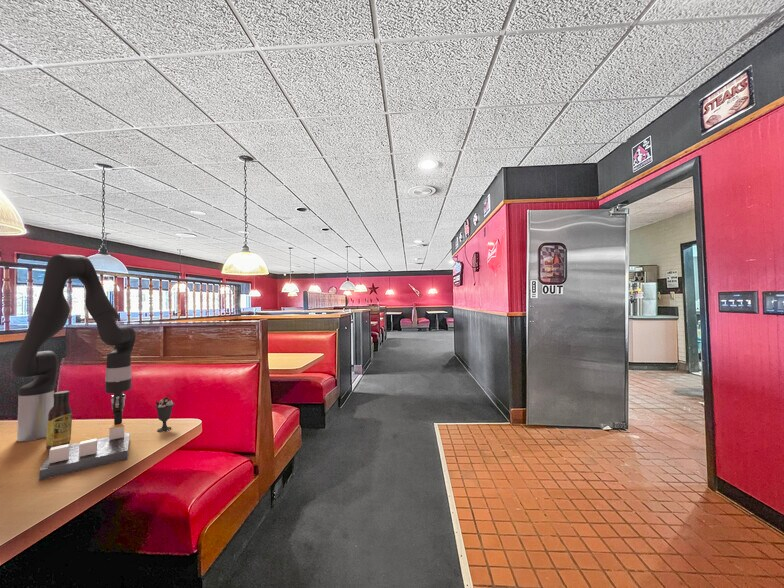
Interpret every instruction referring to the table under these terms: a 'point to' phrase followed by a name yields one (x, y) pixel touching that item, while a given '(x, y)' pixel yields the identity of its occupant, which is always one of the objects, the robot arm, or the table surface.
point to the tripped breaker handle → (116, 431)
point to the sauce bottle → (59, 421)
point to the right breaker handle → (59, 453)
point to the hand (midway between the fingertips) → (118, 424)
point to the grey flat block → (88, 457)
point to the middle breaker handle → (87, 447)
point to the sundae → (164, 412)
